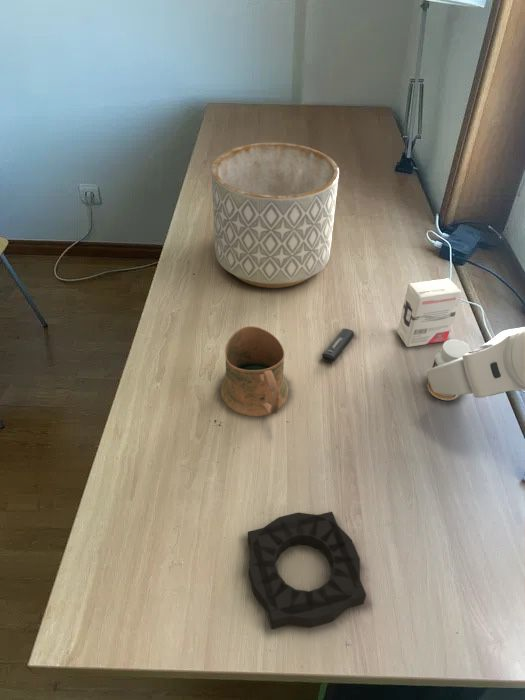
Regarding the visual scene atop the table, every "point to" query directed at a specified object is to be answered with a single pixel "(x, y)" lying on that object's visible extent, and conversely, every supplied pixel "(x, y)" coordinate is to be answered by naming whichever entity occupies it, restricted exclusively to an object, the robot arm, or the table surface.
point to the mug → (254, 373)
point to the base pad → (299, 604)
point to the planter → (273, 212)
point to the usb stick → (338, 345)
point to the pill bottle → (449, 353)
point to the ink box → (428, 312)
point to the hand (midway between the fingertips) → (458, 364)
